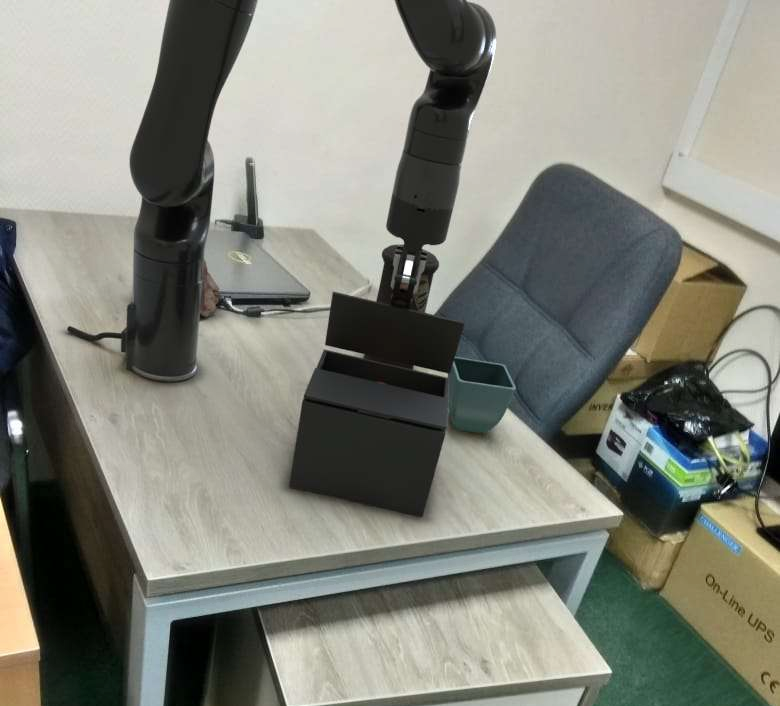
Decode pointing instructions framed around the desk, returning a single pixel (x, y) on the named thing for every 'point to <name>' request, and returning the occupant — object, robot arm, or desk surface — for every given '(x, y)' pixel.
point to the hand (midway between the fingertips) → (394, 332)
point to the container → (417, 299)
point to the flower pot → (478, 394)
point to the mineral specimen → (208, 293)
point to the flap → (393, 332)
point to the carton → (370, 433)
